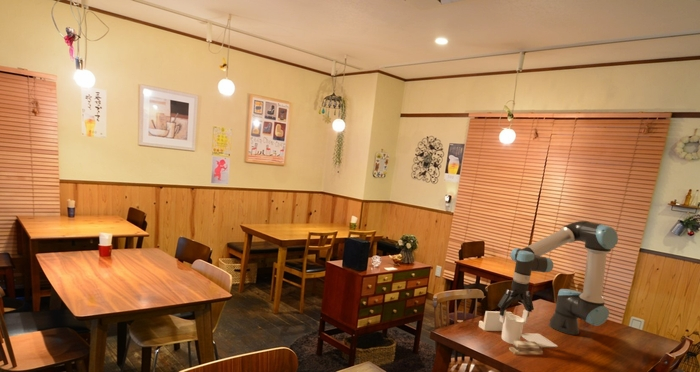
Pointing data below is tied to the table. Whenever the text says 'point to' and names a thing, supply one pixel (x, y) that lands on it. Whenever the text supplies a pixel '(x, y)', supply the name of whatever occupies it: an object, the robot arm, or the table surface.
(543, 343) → the felt pad
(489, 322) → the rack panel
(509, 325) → the candle holder
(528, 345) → the offcut stack
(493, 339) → the table surface
